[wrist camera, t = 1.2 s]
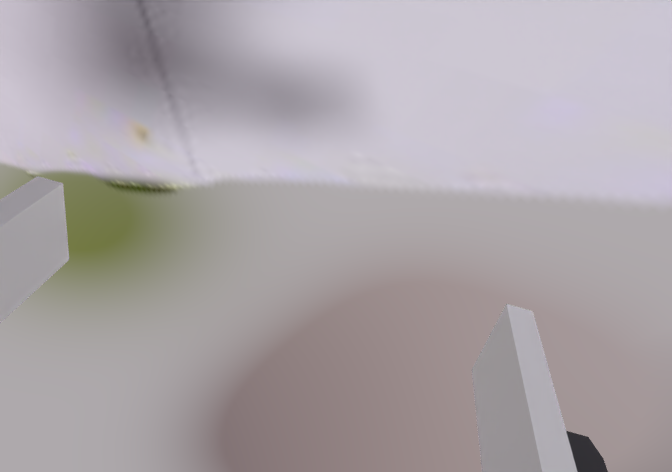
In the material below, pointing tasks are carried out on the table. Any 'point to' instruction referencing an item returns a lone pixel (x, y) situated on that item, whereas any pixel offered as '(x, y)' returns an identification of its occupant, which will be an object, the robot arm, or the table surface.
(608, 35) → the table surface
